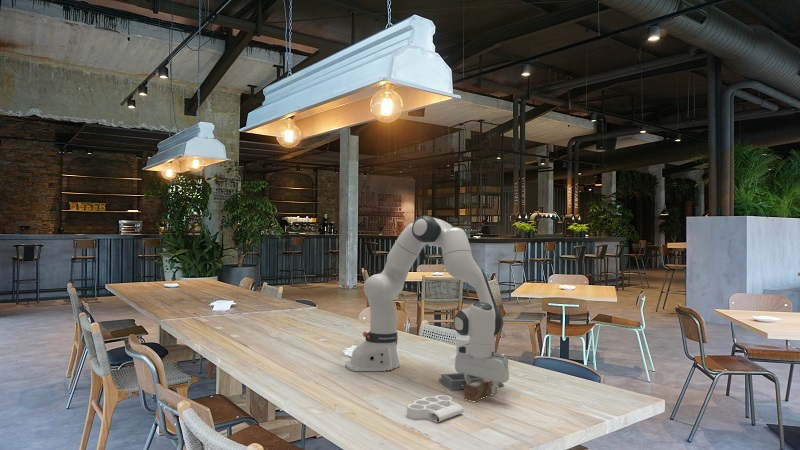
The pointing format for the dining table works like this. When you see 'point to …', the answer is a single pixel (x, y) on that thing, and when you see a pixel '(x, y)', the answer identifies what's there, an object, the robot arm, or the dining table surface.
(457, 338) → the white cup
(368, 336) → the robot arm
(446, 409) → the light grey compartment holder
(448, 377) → the dark grey rectangular tray
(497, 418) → the dining table surface
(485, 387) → the frame block
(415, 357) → the dining table surface
